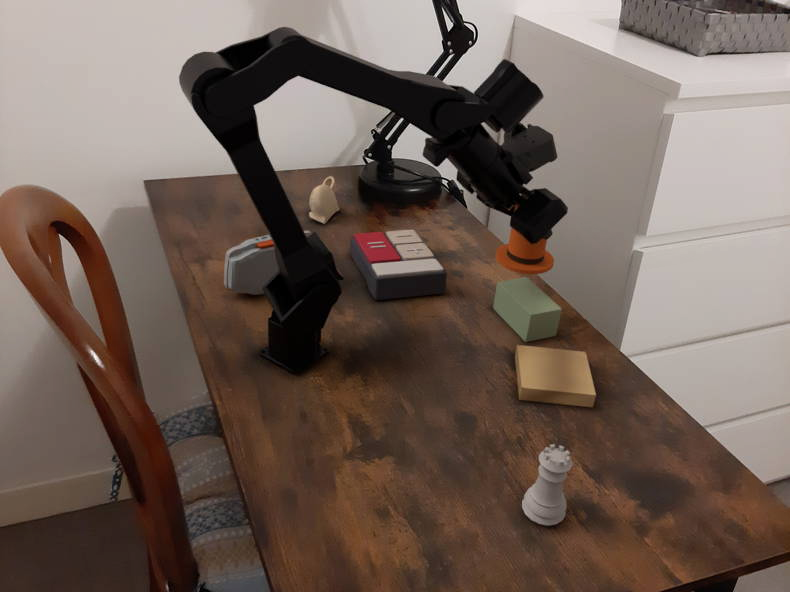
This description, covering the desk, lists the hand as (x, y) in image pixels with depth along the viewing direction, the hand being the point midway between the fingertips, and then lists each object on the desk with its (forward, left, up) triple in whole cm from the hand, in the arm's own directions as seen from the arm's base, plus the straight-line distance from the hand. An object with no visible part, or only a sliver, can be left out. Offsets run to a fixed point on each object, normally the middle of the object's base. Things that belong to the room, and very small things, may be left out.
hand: (538, 227), depth 103 cm
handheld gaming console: (-20, +31, -14) cm, 39 cm away
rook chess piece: (-33, -20, -14) cm, 41 cm away
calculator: (-4, +20, -14) cm, 25 cm away
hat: (-1, +1, -5) cm, 5 cm away
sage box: (-3, -1, -13) cm, 14 cm away
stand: (-12, -11, -13) cm, 21 cm away
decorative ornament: (+4, +42, -11) cm, 43 cm away
